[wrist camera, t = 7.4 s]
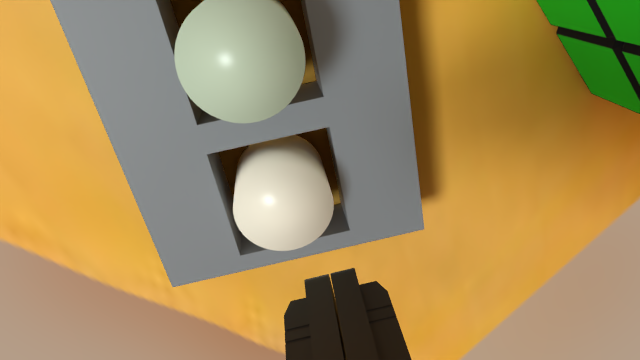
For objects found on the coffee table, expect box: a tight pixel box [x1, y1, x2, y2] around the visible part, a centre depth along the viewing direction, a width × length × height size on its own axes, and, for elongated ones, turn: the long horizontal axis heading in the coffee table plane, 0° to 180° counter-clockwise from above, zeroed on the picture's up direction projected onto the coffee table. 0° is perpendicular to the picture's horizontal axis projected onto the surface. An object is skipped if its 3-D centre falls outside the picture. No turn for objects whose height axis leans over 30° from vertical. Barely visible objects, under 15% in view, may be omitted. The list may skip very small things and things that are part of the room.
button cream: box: [233, 135, 334, 251], centre depth 24 cm, size 5×5×4 cm
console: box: [50, 0, 424, 287], centre depth 22 cm, size 14×23×3 cm, turn 11°
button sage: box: [174, 0, 305, 123], centre depth 19 cm, size 5×5×4 cm
